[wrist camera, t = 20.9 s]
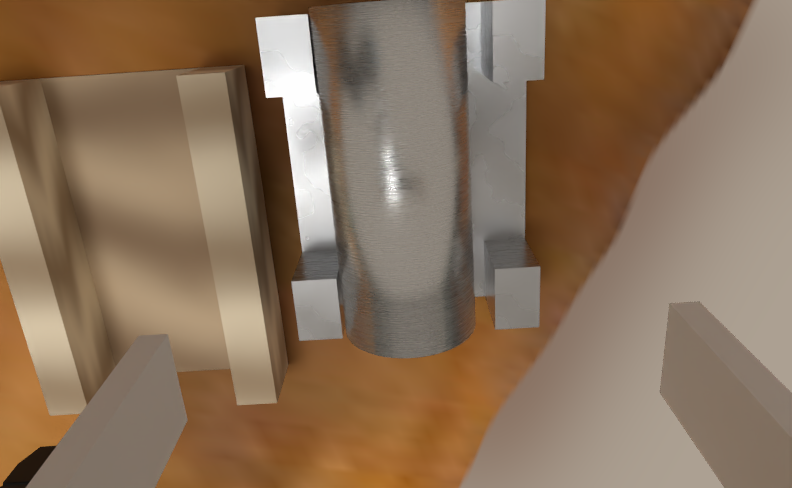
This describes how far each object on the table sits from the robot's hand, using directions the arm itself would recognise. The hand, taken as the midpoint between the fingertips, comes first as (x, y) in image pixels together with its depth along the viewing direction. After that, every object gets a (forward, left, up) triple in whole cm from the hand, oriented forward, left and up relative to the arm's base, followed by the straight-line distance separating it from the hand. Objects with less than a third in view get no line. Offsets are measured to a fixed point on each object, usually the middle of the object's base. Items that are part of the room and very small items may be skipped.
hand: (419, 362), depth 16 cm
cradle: (-2, 0, -15) cm, 15 cm away
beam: (+1, -13, -15) cm, 20 cm away
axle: (-2, +1, -14) cm, 14 cm away
